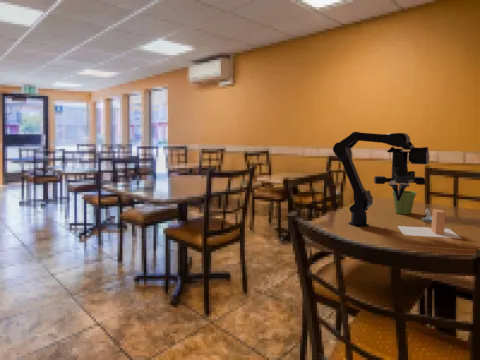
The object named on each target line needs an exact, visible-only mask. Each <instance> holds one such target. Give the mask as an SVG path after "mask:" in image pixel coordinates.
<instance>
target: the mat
mask: <svg viewBox="0 0 480 360" xmlns="http://www.w3.org/2000/svg"><path fill="white" fill-rule="evenodd" d="M396 227H397V228H398V229H399V231H400V232H401V233H402V235H403V236H412V237H413V236H415V237H428V238H429V237H430V238H447V239H448V238H449V239H463V238H462V237H461V236H460V235H458V234H457V233H456V232H454V231H452V230H451V229H450V228H444V234H435V233H434V232H433V231H432V230H431V227H424V226H423V227H421V226H405V225H403V226H402V225H401V226H400V225H396Z"/></svg>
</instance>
